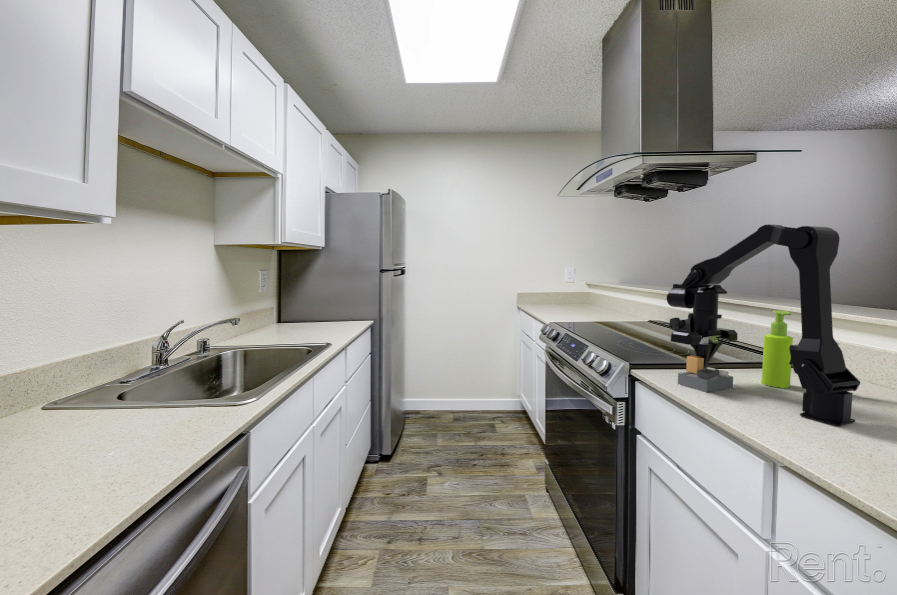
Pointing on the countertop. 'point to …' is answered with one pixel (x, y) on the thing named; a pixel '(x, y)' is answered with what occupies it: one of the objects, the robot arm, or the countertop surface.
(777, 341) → the soap dispenser
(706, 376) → the block
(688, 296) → the robot arm
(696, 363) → the orange slider
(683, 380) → the panel
